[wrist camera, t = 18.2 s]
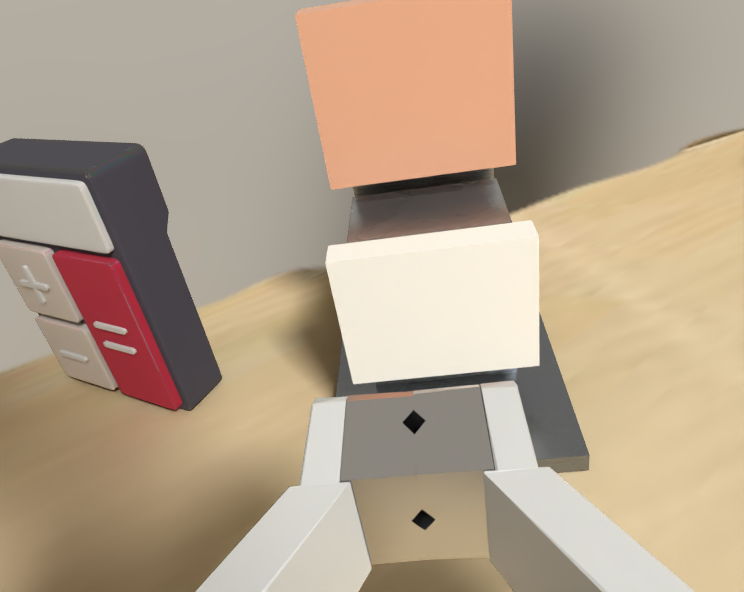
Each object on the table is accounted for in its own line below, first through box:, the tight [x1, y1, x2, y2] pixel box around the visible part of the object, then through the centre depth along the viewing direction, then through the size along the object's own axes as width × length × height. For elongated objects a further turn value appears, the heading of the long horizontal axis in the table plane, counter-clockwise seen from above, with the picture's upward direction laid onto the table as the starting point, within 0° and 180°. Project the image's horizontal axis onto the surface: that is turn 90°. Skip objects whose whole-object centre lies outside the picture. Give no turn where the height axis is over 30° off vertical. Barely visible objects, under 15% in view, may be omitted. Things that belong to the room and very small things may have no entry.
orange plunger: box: [295, 0, 516, 189], centre depth 30 cm, size 9×8×8 cm
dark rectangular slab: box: [0, 138, 222, 410], centre depth 35 cm, size 11×4×15 cm, turn 62°
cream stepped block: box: [325, 220, 539, 384], centre depth 31 cm, size 9×8×7 cm
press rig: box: [336, 168, 589, 473], centre depth 30 cm, size 12×17×18 cm
